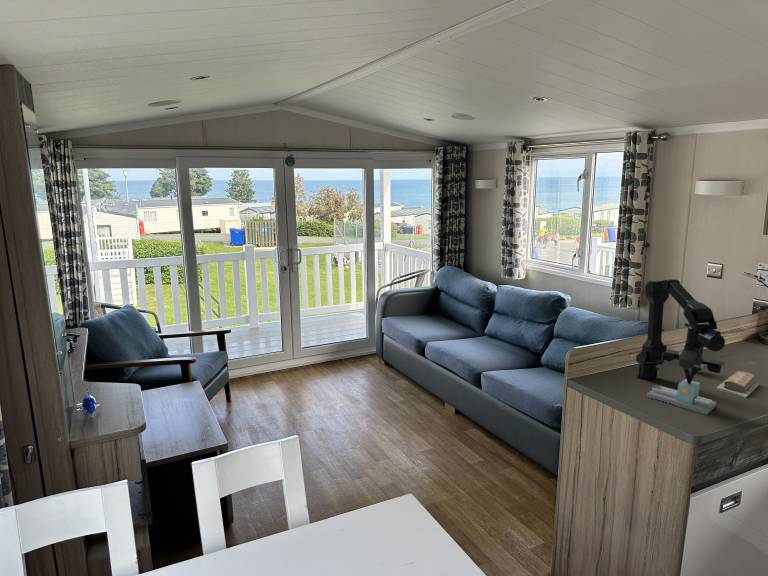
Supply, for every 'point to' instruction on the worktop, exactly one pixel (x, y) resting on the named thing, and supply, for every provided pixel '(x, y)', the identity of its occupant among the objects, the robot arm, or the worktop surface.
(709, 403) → the din rail
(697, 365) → the robot arm
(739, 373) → the packaged product
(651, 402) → the worktop surface
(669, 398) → the plate
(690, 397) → the block
